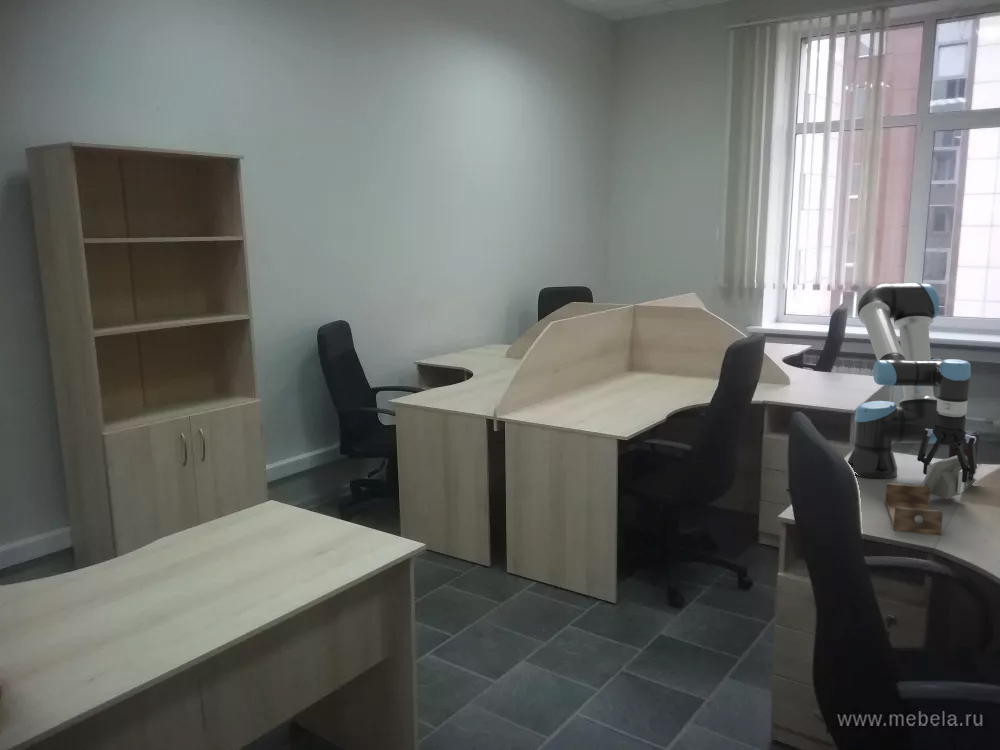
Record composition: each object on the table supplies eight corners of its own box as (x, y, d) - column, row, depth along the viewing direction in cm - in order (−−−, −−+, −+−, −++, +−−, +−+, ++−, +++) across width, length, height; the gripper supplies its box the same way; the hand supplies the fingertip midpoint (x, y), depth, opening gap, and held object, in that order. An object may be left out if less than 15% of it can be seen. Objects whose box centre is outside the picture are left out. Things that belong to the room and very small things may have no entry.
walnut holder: (926, 505, 222) (928, 485, 221) (941, 536, 200) (943, 514, 199) (884, 501, 226) (886, 481, 225) (894, 531, 204) (896, 509, 203)
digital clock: (949, 483, 232) (953, 450, 230) (977, 493, 224) (980, 458, 222) (909, 491, 227) (911, 457, 225) (935, 501, 219) (938, 466, 216)
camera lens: (975, 475, 247) (980, 430, 245) (975, 482, 241) (979, 436, 238) (947, 471, 252) (950, 427, 249) (945, 478, 245) (949, 433, 242)
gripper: (908, 410, 225) (902, 483, 230) (988, 422, 210) (979, 500, 215) (917, 405, 230) (911, 477, 235) (996, 416, 215) (987, 493, 220)
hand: (944, 488), depth 225 cm, fingers closed on digital clock, 8 cm apart
